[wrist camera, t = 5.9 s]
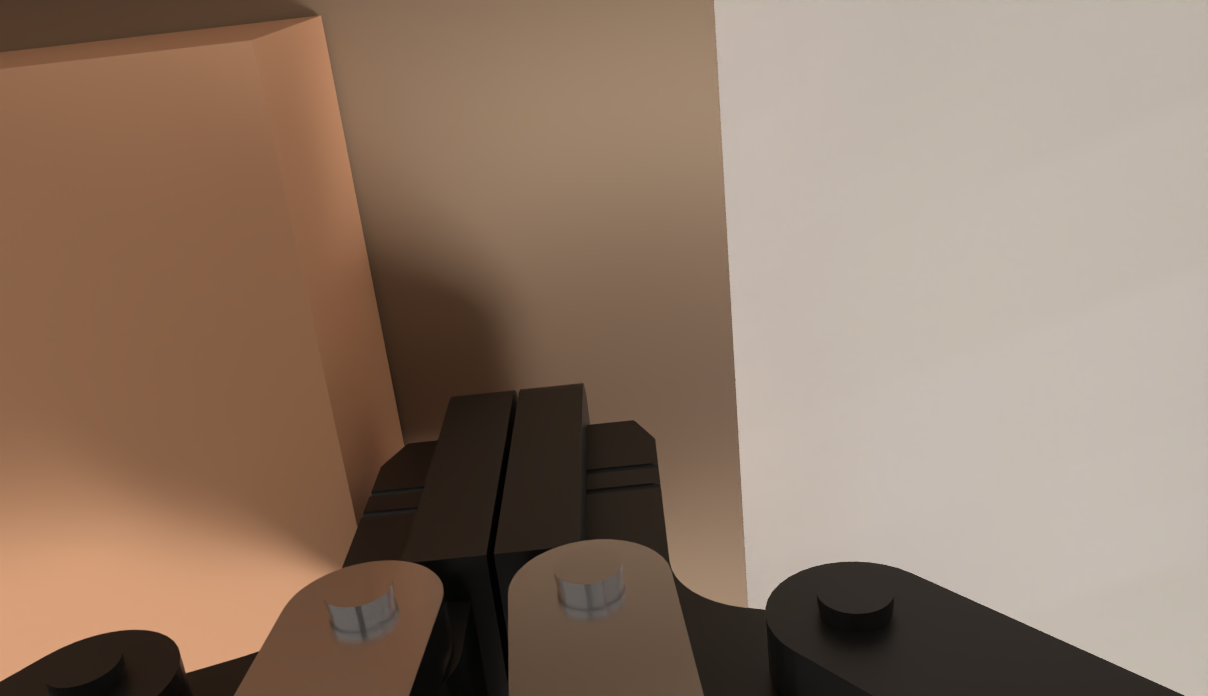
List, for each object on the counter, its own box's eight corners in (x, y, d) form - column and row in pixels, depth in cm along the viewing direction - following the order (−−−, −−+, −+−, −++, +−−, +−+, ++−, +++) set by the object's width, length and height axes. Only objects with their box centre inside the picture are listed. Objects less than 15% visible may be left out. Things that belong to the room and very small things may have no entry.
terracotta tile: (-315, 89, 12) (-533, 130, 10) (321, 15, 12) (252, 39, 10) (-29, 808, 16) (-138, 965, 13) (465, 765, 15) (441, 917, 13)
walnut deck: (-203, -585, 13) (-515, -783, 10) (641, -681, 13) (660, -920, 9) (231, 925, 22) (156, 1133, 18) (743, 884, 22) (774, 1086, 18)
